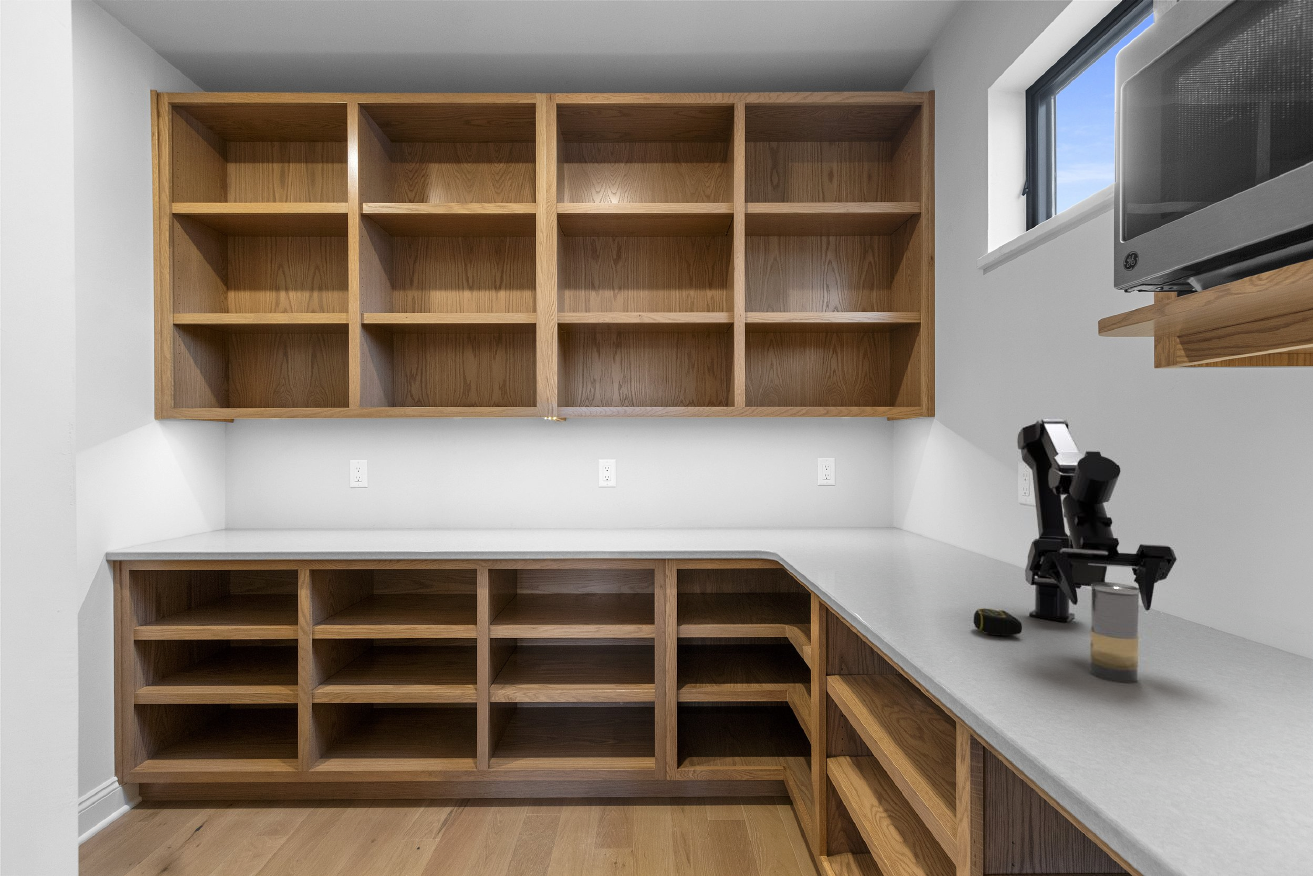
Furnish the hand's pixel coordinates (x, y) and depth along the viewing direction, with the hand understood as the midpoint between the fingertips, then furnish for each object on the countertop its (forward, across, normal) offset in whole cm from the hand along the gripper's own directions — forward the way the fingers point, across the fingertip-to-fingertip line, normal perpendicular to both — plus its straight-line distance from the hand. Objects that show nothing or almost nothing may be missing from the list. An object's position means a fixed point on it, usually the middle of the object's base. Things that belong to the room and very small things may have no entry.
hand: (1111, 606), depth 97 cm
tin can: (+8, 0, -6) cm, 10 cm away
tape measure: (-5, +12, -19) cm, 23 cm away
